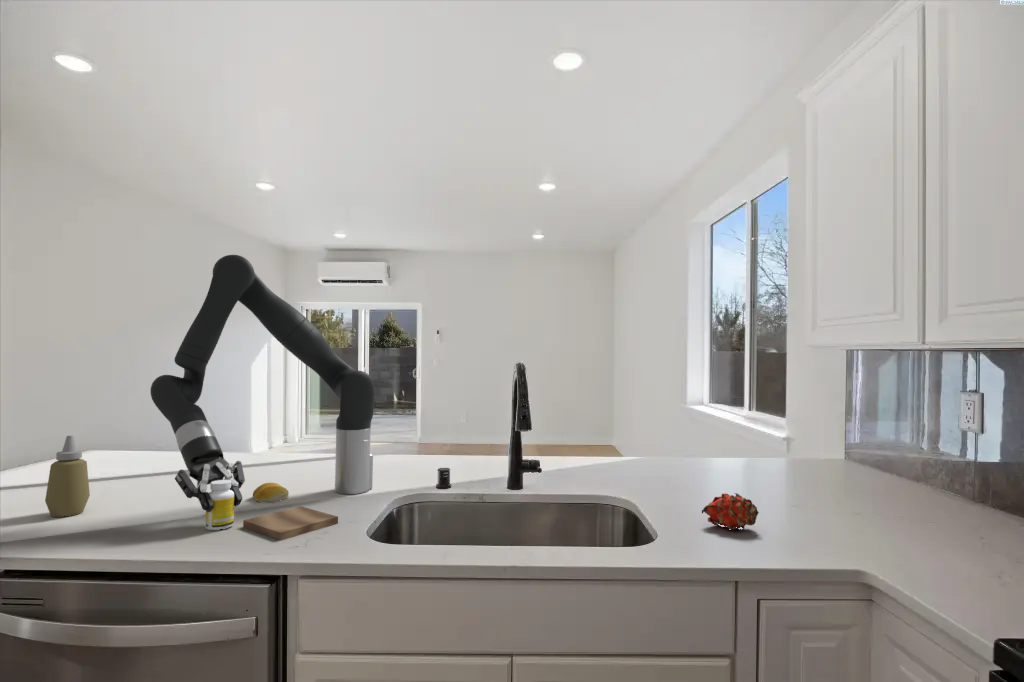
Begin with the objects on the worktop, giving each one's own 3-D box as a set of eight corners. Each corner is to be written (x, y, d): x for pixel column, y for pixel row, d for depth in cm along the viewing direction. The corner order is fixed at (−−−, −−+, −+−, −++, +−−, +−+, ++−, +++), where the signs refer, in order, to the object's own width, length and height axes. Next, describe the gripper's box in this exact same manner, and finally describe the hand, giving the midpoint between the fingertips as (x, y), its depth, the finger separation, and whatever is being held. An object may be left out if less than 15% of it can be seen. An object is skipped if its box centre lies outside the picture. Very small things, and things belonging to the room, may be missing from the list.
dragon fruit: (763, 540, 120) (706, 542, 124) (755, 508, 127) (701, 511, 131) (762, 514, 116) (702, 517, 119) (754, 483, 123) (697, 487, 126)
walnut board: (300, 512, 131) (300, 506, 131) (337, 523, 123) (338, 516, 123) (243, 527, 120) (243, 520, 120) (280, 540, 112) (280, 532, 112)
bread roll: (260, 505, 137) (260, 489, 137) (249, 498, 144) (249, 482, 144) (293, 500, 142) (294, 484, 143) (282, 493, 149) (282, 478, 149)
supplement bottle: (239, 524, 121) (240, 480, 121) (219, 532, 116) (220, 485, 116) (220, 522, 123) (221, 477, 123) (199, 529, 118) (200, 483, 118)
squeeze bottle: (96, 511, 129) (99, 435, 130) (56, 521, 122) (59, 439, 122) (77, 507, 133) (79, 432, 133) (36, 516, 125) (39, 436, 126)
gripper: (170, 438, 118) (196, 503, 111) (236, 431, 130) (263, 489, 123) (158, 460, 121) (183, 525, 114) (223, 451, 133) (249, 509, 126)
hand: (224, 506), depth 118 cm, fingers closed on supplement bottle, 5 cm apart
